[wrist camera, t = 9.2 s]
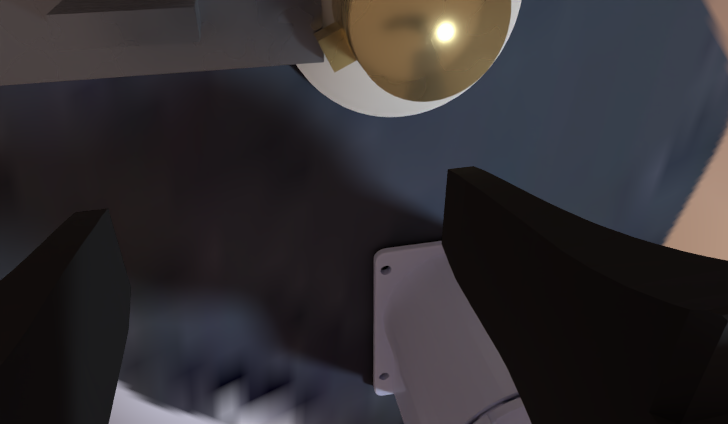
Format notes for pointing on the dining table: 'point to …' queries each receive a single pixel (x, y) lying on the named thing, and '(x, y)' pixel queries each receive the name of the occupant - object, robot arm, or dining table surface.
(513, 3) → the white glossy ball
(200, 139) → the dining table surface
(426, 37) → the cap
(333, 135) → the dining table surface
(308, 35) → the post base
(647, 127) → the dining table surface
